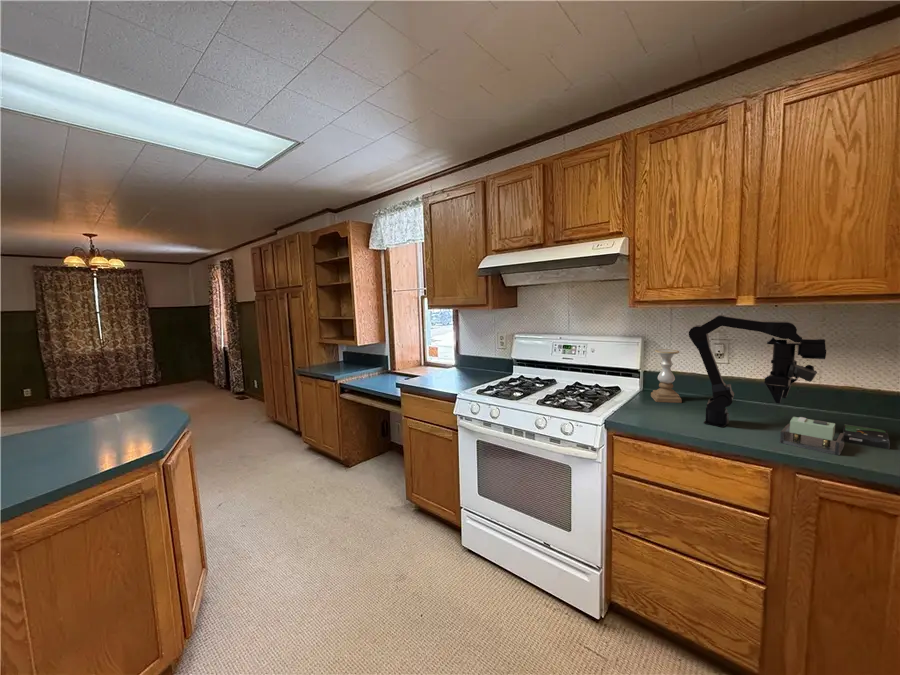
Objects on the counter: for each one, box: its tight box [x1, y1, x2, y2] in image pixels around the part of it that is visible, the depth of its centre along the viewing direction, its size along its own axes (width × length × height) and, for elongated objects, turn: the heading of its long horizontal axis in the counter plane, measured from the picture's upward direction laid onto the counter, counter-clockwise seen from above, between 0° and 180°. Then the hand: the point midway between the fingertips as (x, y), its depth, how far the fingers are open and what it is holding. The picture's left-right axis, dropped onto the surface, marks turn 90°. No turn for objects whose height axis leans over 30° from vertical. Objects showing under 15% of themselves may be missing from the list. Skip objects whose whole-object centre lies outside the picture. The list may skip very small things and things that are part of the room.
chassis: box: [778, 423, 845, 456], centre depth 122 cm, size 14×11×4 cm
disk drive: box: [842, 423, 891, 450], centre depth 125 cm, size 10×3×15 cm
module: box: [789, 416, 836, 441], centre depth 122 cm, size 10×6×5 cm, turn 39°
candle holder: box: [650, 348, 683, 404], centre depth 177 cm, size 11×11×24 cm
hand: (781, 400), depth 131 cm, fingers open, 9 cm apart
